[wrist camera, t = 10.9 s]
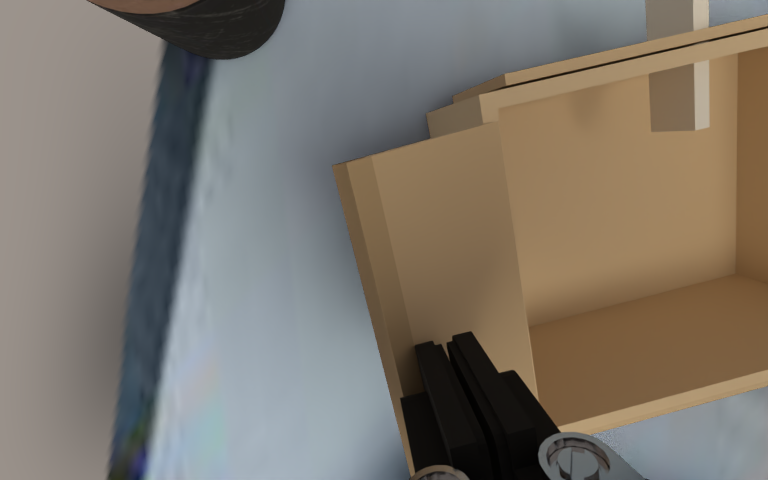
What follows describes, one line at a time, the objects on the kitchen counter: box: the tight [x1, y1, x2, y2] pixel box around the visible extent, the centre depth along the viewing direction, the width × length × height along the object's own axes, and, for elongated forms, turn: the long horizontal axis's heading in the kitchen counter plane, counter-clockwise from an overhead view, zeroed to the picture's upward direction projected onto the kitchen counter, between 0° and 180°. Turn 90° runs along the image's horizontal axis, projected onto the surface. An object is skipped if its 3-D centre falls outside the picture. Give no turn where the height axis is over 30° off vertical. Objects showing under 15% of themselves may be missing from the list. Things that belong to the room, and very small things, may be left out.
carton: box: [426, 0, 768, 435], centre depth 20 cm, size 19×18×9 cm
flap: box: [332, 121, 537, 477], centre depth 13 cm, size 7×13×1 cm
